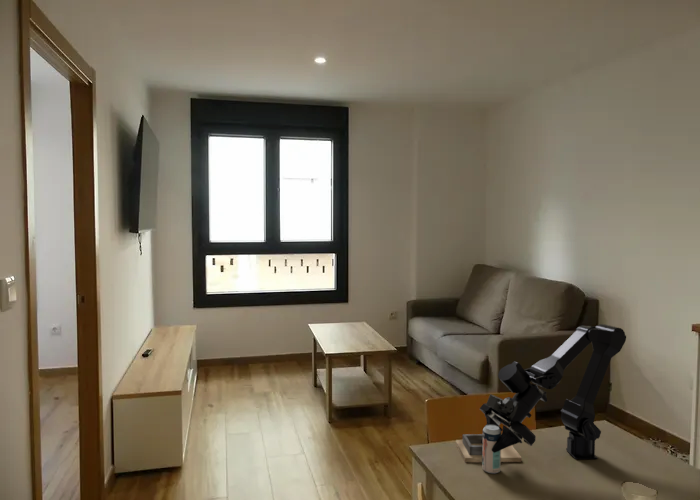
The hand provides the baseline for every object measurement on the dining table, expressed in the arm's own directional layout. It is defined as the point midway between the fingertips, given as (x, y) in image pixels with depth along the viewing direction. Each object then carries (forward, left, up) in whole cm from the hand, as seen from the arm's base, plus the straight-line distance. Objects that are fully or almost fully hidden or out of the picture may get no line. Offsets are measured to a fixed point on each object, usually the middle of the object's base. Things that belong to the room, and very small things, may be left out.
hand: (487, 447), depth 140 cm
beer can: (-1, 0, -7) cm, 7 cm away
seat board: (-3, -11, -7) cm, 14 cm away
